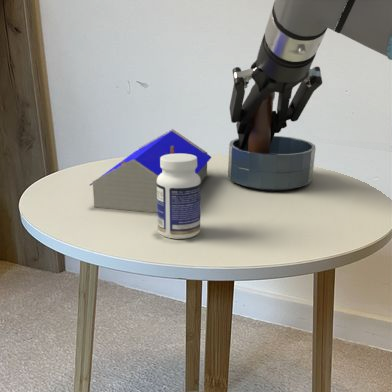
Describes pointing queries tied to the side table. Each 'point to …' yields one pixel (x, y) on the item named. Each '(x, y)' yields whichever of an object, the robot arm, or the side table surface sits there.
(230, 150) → the bowl
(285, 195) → the side table surface
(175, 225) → the pill bottle
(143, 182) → the toy house model
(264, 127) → the brown cylinder
